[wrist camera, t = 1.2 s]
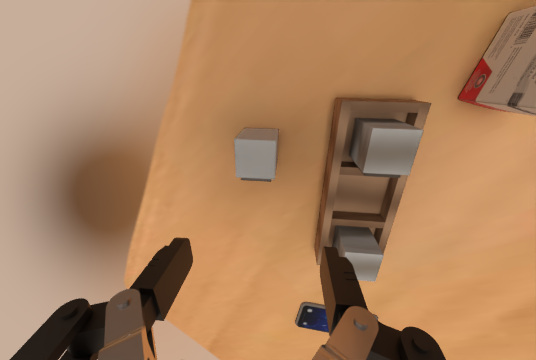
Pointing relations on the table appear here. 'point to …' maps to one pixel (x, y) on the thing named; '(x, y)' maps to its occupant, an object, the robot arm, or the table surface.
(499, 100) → the ink box
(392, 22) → the table surface
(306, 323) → the smartphone
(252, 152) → the grey cube
